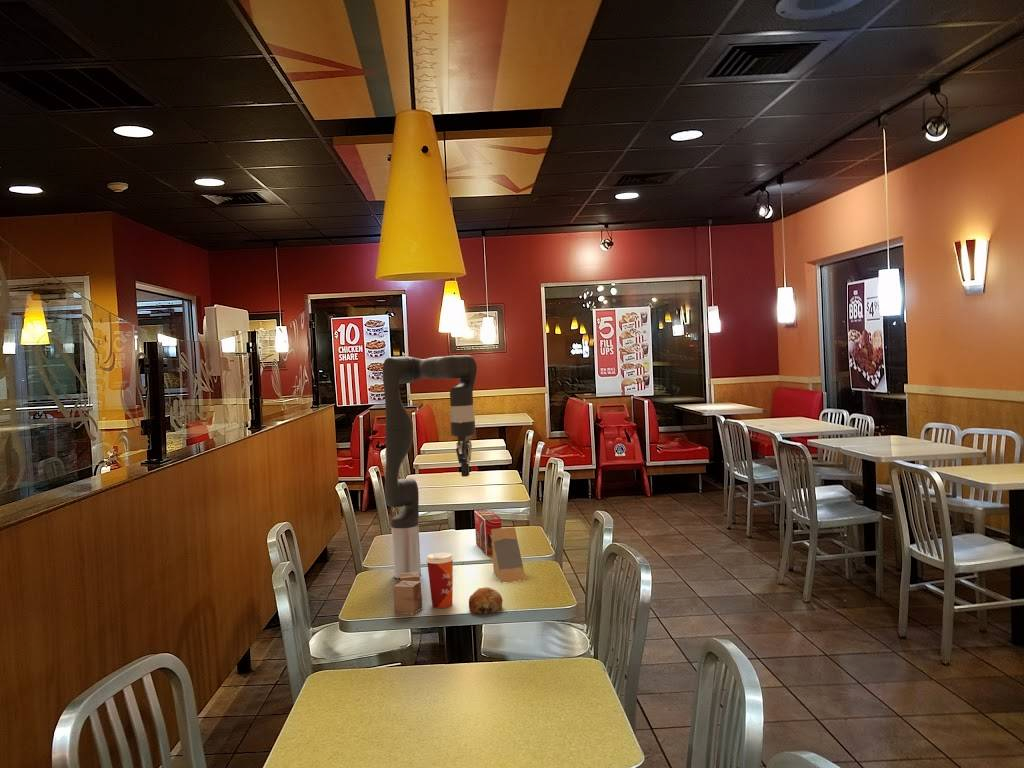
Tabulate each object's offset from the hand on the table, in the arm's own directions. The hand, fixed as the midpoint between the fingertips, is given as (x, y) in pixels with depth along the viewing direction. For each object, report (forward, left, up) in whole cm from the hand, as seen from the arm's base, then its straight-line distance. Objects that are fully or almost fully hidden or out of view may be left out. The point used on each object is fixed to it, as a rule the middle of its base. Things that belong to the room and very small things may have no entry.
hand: (465, 476), depth 253 cm
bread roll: (+14, +7, -37) cm, 40 cm away
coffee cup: (+10, -7, -37) cm, 39 cm away
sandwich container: (-22, +9, -37) cm, 44 cm away
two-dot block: (+5, -18, -37) cm, 42 cm away
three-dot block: (+15, -16, -37) cm, 43 cm away
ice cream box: (-62, -5, -37) cm, 73 cm away
